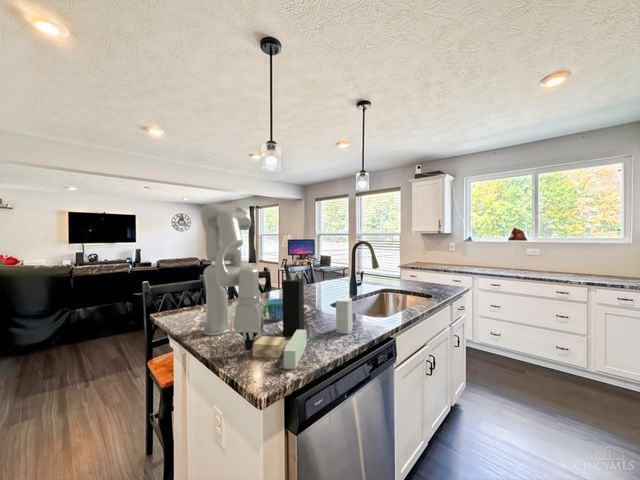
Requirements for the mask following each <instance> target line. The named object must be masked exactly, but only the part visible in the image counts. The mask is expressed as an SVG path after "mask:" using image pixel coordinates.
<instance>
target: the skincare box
mask: <svg viewBox="0 0 640 480" xmlns="http://www.w3.org/2000/svg"><path fill="white" fill-rule="evenodd" d="M335 316H336V318H335V319H336V320H335V323H336V324H335V325H336V334H343V335H349V334H350V333H351V331H352V330H353V329H354V324H353V323H354V322H353V318H354V317H353V298H350V297H348V298H346V297H340V298H338V299H337V300H336V301H335Z"/></svg>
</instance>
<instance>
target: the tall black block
mask: <svg viewBox="0 0 640 480" xmlns="http://www.w3.org/2000/svg"><path fill="white" fill-rule="evenodd" d="M289 274H290V277H291V278H286V279H284V280H282V281H281V284H282V286H281V287H282V292H281V293H282V294H281V295H282V299H283V320H282V337H291V338H292V337H293V335H294V333H295V332H296V330H305V307H304V306H305V304H304V303H305V295H304V294H305V291H304V285H305V283H304V281H305V279H304V278H296V276H297V273H296V272H289Z"/></svg>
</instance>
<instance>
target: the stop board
mask: <svg viewBox="0 0 640 480" xmlns="http://www.w3.org/2000/svg"><path fill="white" fill-rule="evenodd" d="M306 347H307V329H304V330H296V332H295V333H294V335H293V337H292V336H291V338H290V340H289V342H288V343H287V345H285V349H284V351H283V369H286V370H287V369H289V370H296V369H297V366H298V365H299V363H300V360H301V358H302V355H303V353H304V351H305V349H306Z"/></svg>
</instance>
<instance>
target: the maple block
mask: <svg viewBox="0 0 640 480" xmlns="http://www.w3.org/2000/svg"><path fill="white" fill-rule="evenodd" d="M285 348H286V336H269V335H268V336H266V335H260V336H259V337H258V338H257V339H256V340H254V343H253V348H252V357H256V358H257V357H258V358H273V359H275V358H276V359H279V358H280V357H281V355H282V354H284V349H285Z"/></svg>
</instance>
